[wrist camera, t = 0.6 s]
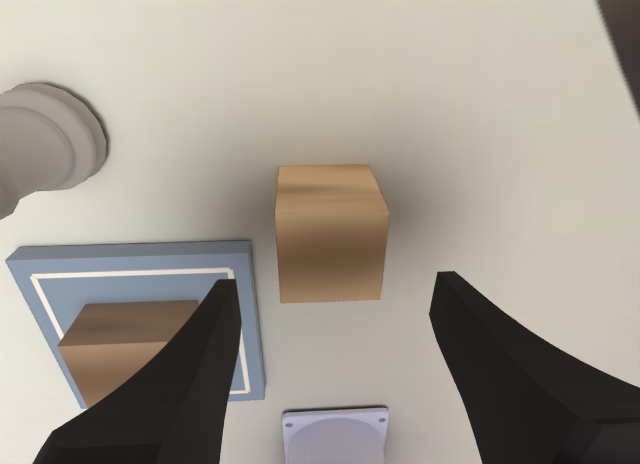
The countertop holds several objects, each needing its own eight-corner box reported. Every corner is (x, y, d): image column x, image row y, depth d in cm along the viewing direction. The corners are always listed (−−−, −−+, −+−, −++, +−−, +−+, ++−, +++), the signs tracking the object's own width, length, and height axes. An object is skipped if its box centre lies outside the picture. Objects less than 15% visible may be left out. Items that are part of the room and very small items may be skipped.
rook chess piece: (18, 174, 18) (-146, 280, 11) (-12, 73, 16) (-238, 131, 9) (117, 183, 19) (17, 289, 12) (103, 87, 16) (-31, 151, 10)
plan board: (265, 384, 27) (261, 443, 24) (89, 392, 27) (57, 454, 23) (249, 240, 21) (240, 290, 17) (19, 247, 20) (-40, 300, 17)
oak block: (363, 239, 21) (380, 299, 17) (283, 241, 21) (280, 303, 17) (368, 164, 19) (390, 212, 15) (279, 165, 19) (274, 215, 15)
